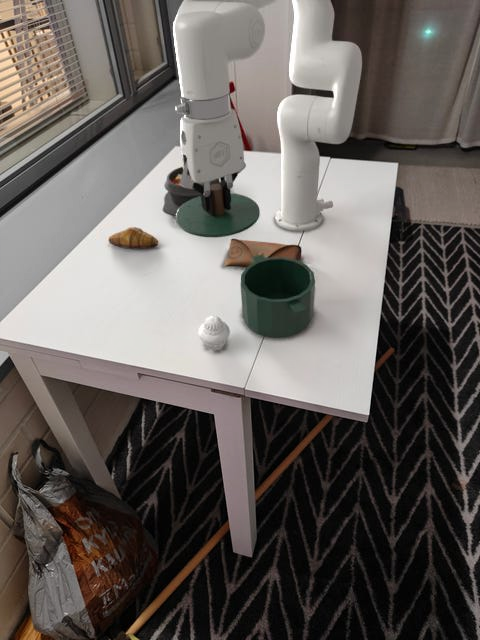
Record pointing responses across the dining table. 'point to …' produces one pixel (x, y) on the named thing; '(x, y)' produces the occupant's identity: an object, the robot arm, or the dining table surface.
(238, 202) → the lid
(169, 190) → the casserole
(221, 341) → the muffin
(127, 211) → the dining table surface
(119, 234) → the croissant
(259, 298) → the pot
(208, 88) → the robot arm
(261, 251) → the sunglasses case
